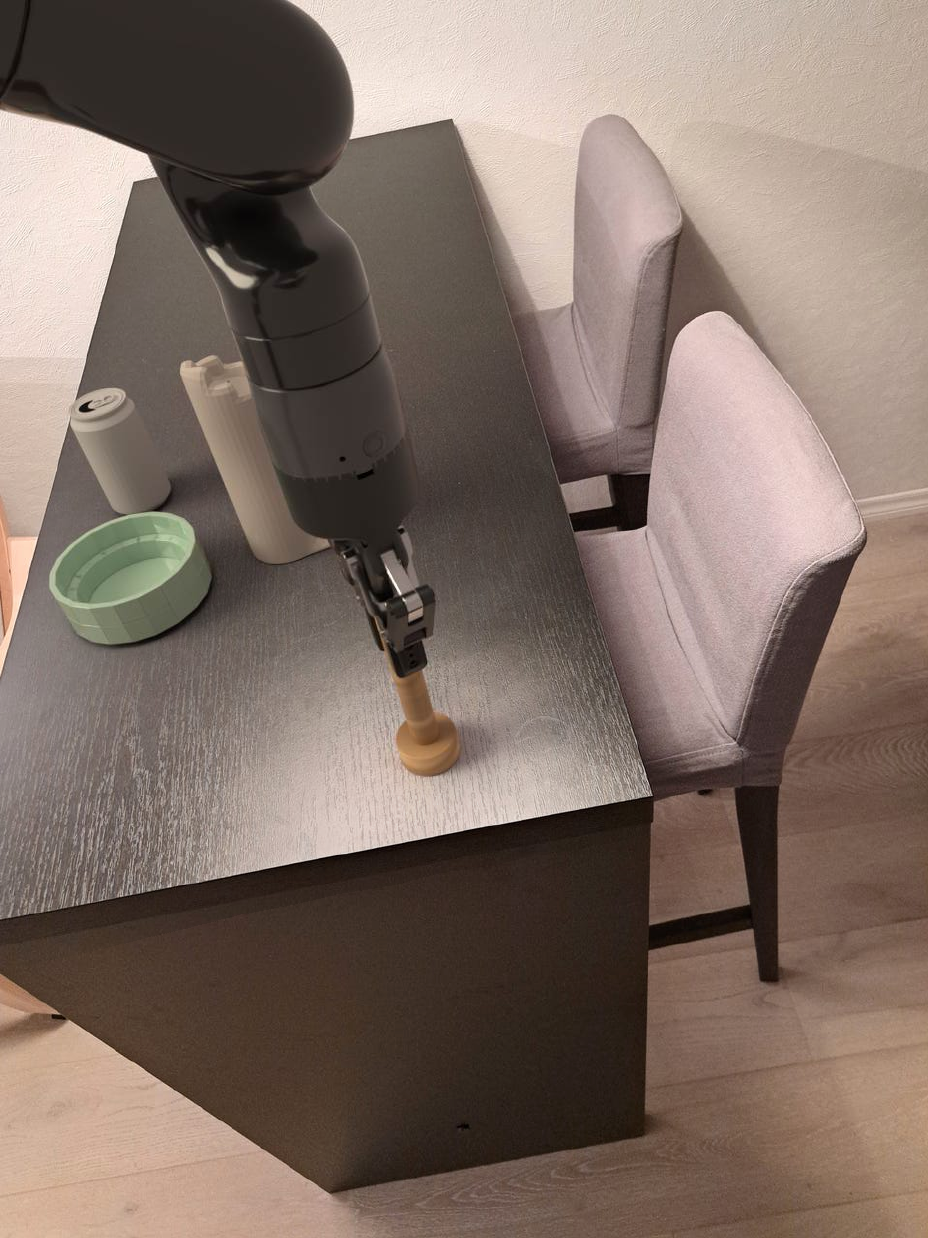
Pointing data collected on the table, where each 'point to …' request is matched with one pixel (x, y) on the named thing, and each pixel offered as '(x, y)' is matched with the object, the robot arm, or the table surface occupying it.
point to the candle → (245, 460)
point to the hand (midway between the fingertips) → (402, 656)
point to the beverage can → (119, 451)
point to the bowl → (131, 577)
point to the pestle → (423, 728)
